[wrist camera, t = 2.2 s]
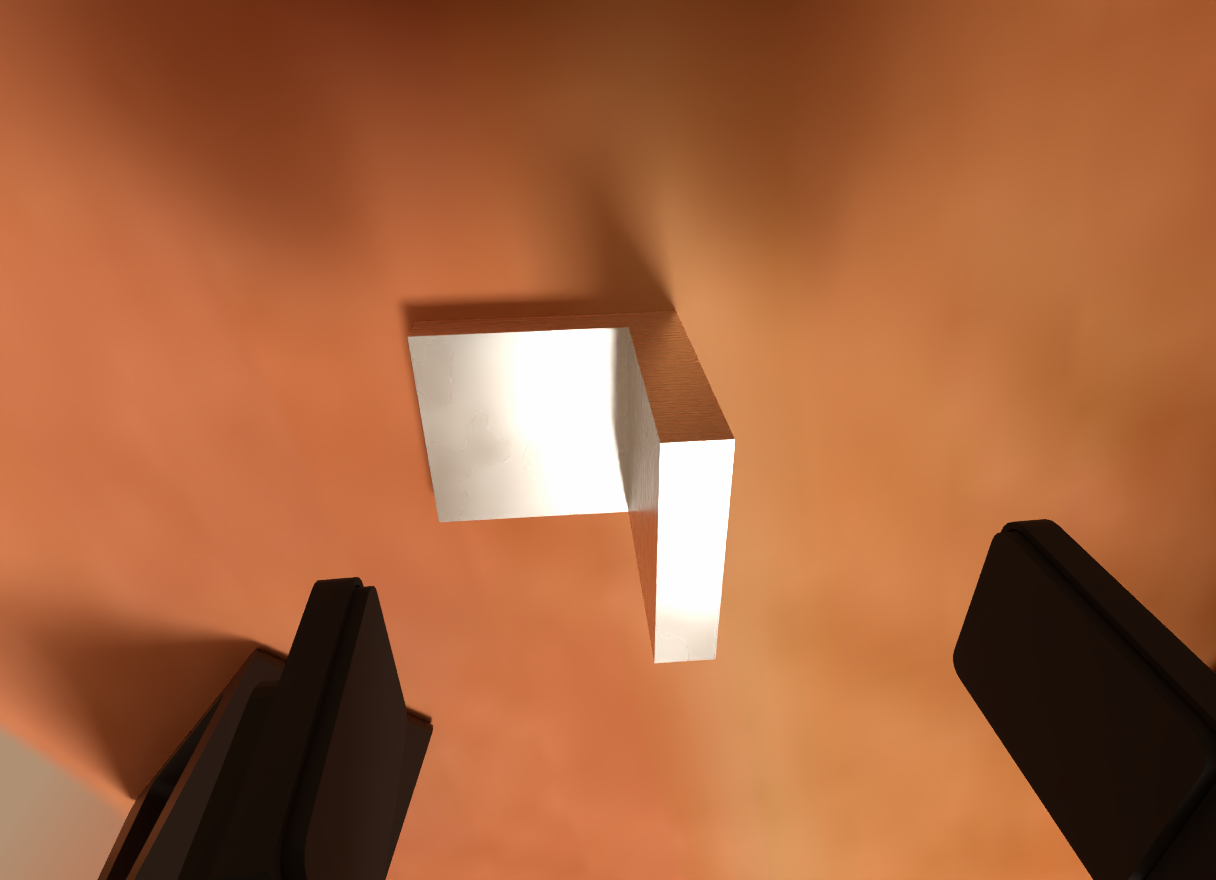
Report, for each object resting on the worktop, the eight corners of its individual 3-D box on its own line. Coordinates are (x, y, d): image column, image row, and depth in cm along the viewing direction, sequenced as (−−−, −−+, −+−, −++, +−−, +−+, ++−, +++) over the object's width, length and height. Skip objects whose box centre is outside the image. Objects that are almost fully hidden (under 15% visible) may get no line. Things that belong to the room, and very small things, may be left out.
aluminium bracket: (675, 309, 16) (734, 440, 11) (668, 486, 19) (715, 658, 14) (414, 320, 16) (353, 459, 11) (444, 498, 19) (405, 680, 13)
